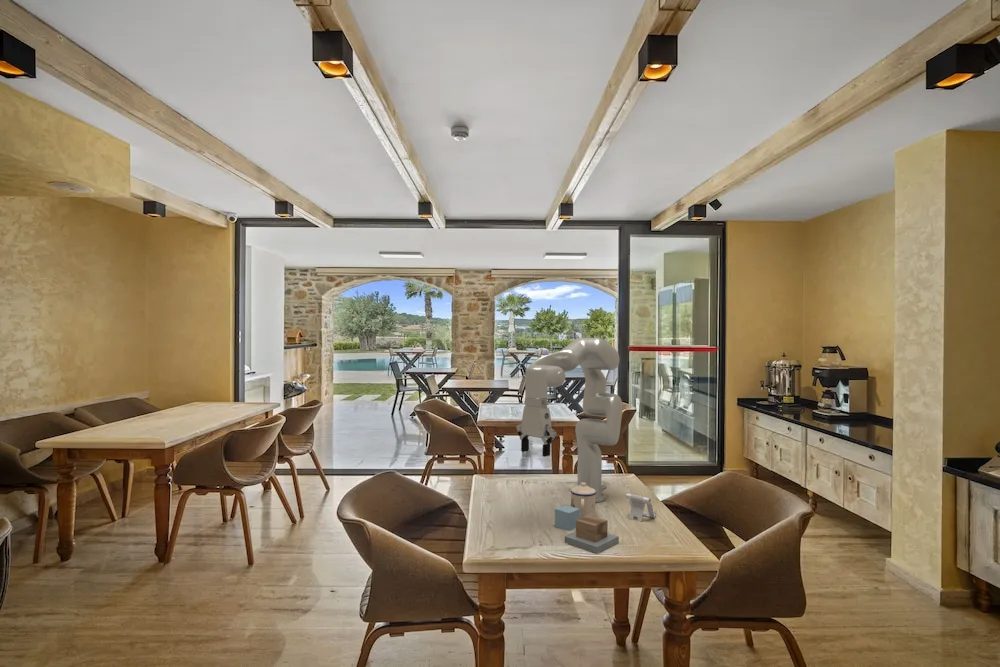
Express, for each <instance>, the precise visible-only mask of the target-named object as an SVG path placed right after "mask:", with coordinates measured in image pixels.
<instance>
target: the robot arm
mask: <svg viewBox="0 0 1000 667" xmlns="http://www.w3.org/2000/svg"><path fill="white" fill-rule="evenodd" d="M620 360H621V359H620V354H619V353H618V350H616V349H615V348H614V346H612V345H611V344H610V343H608V342H607V341H606V340H604V339H603V338H600V337H577V338H575V339H574V340H573V341H571V342H570V343H569V344H567V345H566V346H565V347H563V349H561V350H558V351H555V352H552V353H550V354H547V355H543V356H541V357H539V358H537V359H536V360H534V361H533V362H532V363H530V364H529V365H528V367H527V368H526V369H525V374H524V377H525V381H524V382H525V385H524V386H525V387H524V388H525V389H524V390H525V392H524V393H525V394H524V397H525V398H524V404H525V405H524V407H523V412H522V416H521V417H522V418H521V422H520V423H519V424H517V425H516V426H515V427H516V430H517V431H516V432H517V434H518V437H519V440H521V442H520V443H521V444H520V446H521V449H520V451H521V453H524V452H528V451H529V450H530V448H529V447H530V439H529V437H530V438H531V437H532V438H538V439H541V440H542V442H543V444H542V456H543V458H545V457H550V456H551V444H553V442H554V440H555V438H556V436H557V434H558V433H557V431H556V430H554V429H553V428H552V417H551V416H552V415H551V410H550V407H548V406H549V405H550V401H548V388H558V387H561V386H562V385H563V384H564V383H565V381H566V372H571V371H573V370H575V369H576V368H578V367H579V366H580V368H581V370H582V372H583V375H584V379H585V381H584V382H585V383H584V390H583V399H582V411H583V413H584V414H586V415H588V416H593V417H604V418H606V419H604V420H603V419H597V418H582V419H580V420H578V422H576V425H575V428H574V429H575V437H576V438H575V439H576V443H577V483H576V484H577V486H579V485H581V483H582V482H584V483H586V485H587V486H589V487H590V488H593V489H595V491H596V494H595V503H599V502H604V501H605V500H606V495H605V494H604V493H603V491H604V490H606V489H607V488H608V487H607V485H606V484H602V477H603V476H602V473H603V472H602V468H603V467H602V464H603V463H602V462H603V461H602V459H603V457H602V455H603V454H602V451H601V448H600V447H599V445H602V446H609V447H610V446H615V445H617V444H618V441H619V439H620V435H621V424H622V419H623V418H622V416H623V401H622V398H621V397H620V396H619V395H618V394H615V393H612V392H611V393H609V392H606V391H607V380H606V376H605V375H604V372H602V371H601V370H603V371H611V370H615V369H617V368H618V366H619V364H620ZM577 486H576V487H577Z"/></svg>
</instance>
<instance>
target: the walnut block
mask: <svg viewBox="0 0 1000 667" xmlns="http://www.w3.org/2000/svg"><path fill="white" fill-rule="evenodd" d="M575 531H576V536H577V537H580V538H583V539H586V540H589V541H592V542H597V541H599V540H601V539H603V538H605V537H607V533H608V519H605V518H601V517H597V516H591V515H588V516H585V517H583V518H580V519H578V520H576V528H575Z"/></svg>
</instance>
